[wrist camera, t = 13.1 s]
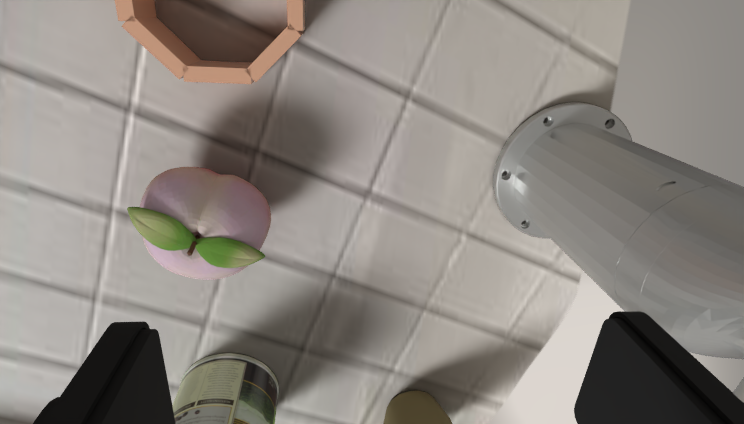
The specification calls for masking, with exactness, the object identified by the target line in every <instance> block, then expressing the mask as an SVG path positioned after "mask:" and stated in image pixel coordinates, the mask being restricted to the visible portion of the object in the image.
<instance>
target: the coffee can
mask: <svg viewBox="0 0 744 424" xmlns="http://www.w3.org/2000/svg"><path fill="white" fill-rule="evenodd" d="M278 396H279V385H278V381H277V378H276V376H275V375H274V373H273V372H272V371H271V370H270V369H269V368H268V367H267V366H266V365H265V364H264V363H262V362H260V361H259V360H257V359H255V358H252V357H249V356H246V355H242V354H235V353H223V354H216V355H211V356H208V357H205V358H203V359H201V360H199V361H197V362H196V363H194V364H193V365H192V366H191V367H190V368H189V369H188V370H187V371H186V373H185V374H184V376H183V378H182V380H181V384H180V388H179V390H178V393H177V395H176V398H175V400H174V403H173V405H172V407H173V412H174V418H175V423H176V424H274V422H275V415H276V406H277V400H278Z"/></svg>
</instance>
